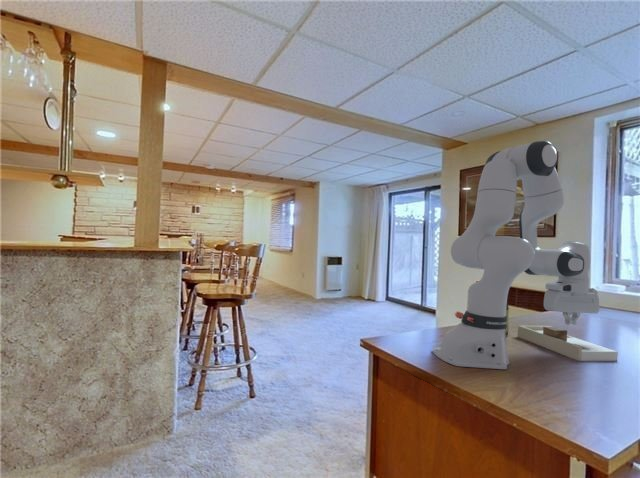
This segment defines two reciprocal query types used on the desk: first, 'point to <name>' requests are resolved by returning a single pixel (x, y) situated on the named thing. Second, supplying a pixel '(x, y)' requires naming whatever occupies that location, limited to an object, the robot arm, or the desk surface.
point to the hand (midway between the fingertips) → (570, 324)
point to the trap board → (567, 345)
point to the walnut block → (555, 333)
